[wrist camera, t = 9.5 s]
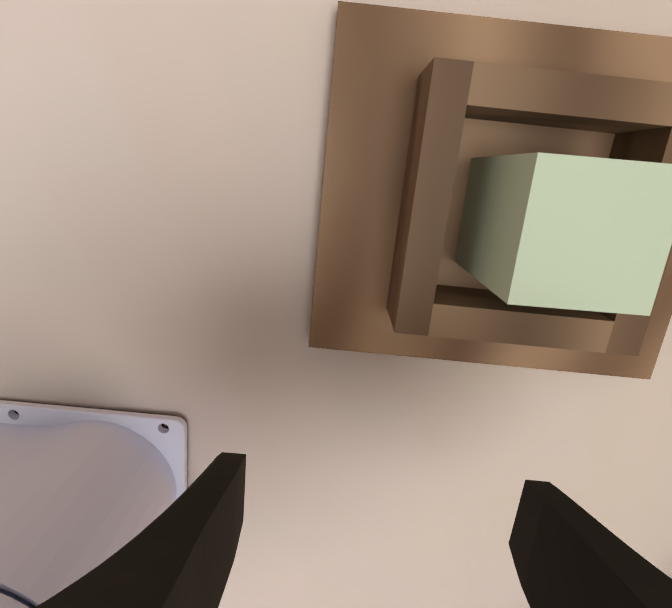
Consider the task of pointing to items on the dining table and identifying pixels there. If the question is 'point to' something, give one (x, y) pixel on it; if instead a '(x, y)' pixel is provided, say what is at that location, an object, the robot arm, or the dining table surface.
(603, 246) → the block
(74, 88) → the dining table surface
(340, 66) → the well stand
